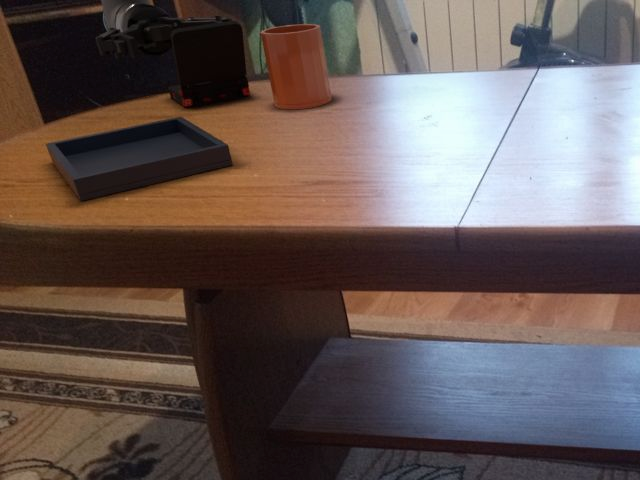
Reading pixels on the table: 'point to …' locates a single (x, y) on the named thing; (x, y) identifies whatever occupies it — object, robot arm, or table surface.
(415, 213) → the table surface
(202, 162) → the dark tray
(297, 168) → the table surface
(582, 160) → the table surface
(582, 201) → the table surface
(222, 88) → the handheld gaming console
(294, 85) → the terracotta cup
